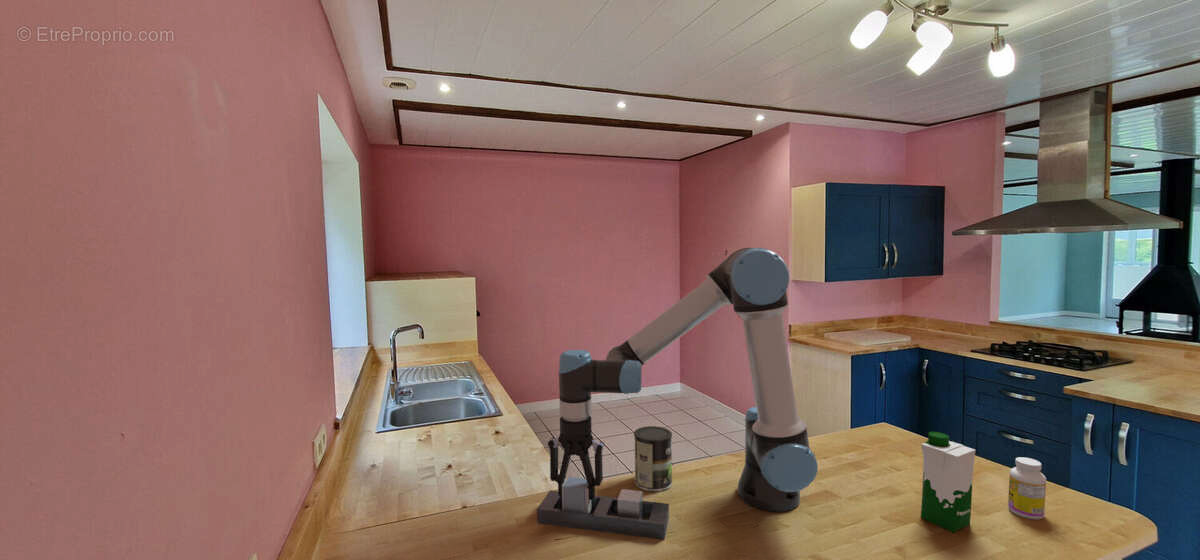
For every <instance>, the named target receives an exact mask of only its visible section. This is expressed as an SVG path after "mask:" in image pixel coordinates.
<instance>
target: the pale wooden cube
mask: <svg viewBox="0 0 1200 560" xmlns="http://www.w3.org/2000/svg"><path fill="white" fill-rule="evenodd" d="M643 496H644V495H643V491H641V490H632V489H625V488H622V489H621V491H620V492H619V495H618V497H617V498H618V514H617V516H618V517H626V518H635V519H643V518H644V517H643V501H644V500H643V499H644V497H643ZM643 520H644V519H643Z"/></svg>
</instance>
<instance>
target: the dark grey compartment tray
mask: <svg viewBox="0 0 1200 560" xmlns="http://www.w3.org/2000/svg"><path fill="white" fill-rule="evenodd" d="M669 504H670V503H666V502H656V501H647V500H643V518H648V519H635V518H626V517H618V497H613V496H612V497H611V496H604V495H596V494H595V497H594V499H593V500H591V510H590V512H589V513H586V512H577V511H569V510H562V496H559V495H558V490H549V491H548V493H547V494H546V495H545V497H544V499H543V500H542V501H541V502H540V504H539V505H538V507H537V508H536V516H537V518H536V520H537V524H540V525H541V524H543V525H549V526H556V527H564V528H571V529H572V528H573V529H578V530H587V531H594V532H600V533H601V532H602V533H603V532H604V533H608V534H609V533H610V534H616V535H617V534H618V535H625V536H632V537H640V538H641V537H642V538H649V539H655V540H662V541H665V539H666V534H667V531H668V530H667V528H668V524H669V519H670V518H669V517H670V514H669V513H670V509H669V507H670V505H669ZM591 511H592V512H593V513H591ZM615 514H616V515H617V516H616V515H615Z"/></svg>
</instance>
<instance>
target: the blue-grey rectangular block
mask: <svg viewBox="0 0 1200 560" xmlns="http://www.w3.org/2000/svg"><path fill="white" fill-rule="evenodd" d="M586 485H587V480H586V478H583V477H573V476H569V477H568V479H567V482H566V483H565V485H564V487H563V498H564V510H569V511H577V512H585V487H586Z"/></svg>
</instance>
